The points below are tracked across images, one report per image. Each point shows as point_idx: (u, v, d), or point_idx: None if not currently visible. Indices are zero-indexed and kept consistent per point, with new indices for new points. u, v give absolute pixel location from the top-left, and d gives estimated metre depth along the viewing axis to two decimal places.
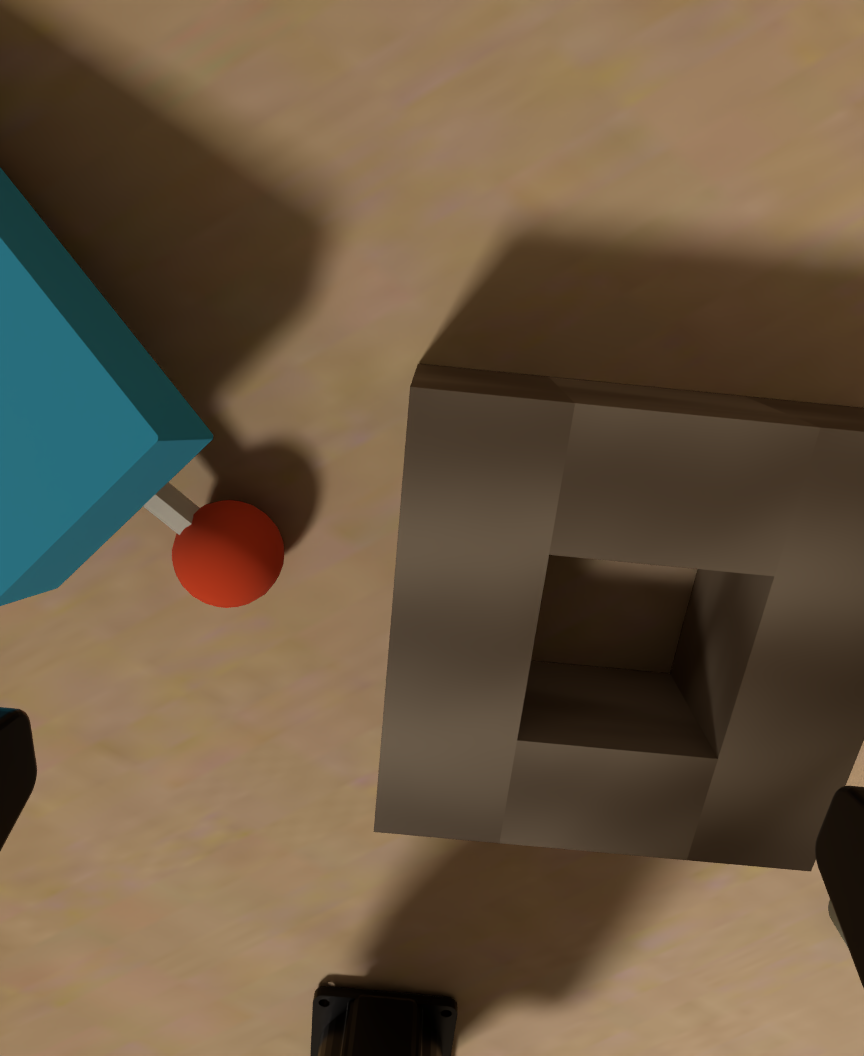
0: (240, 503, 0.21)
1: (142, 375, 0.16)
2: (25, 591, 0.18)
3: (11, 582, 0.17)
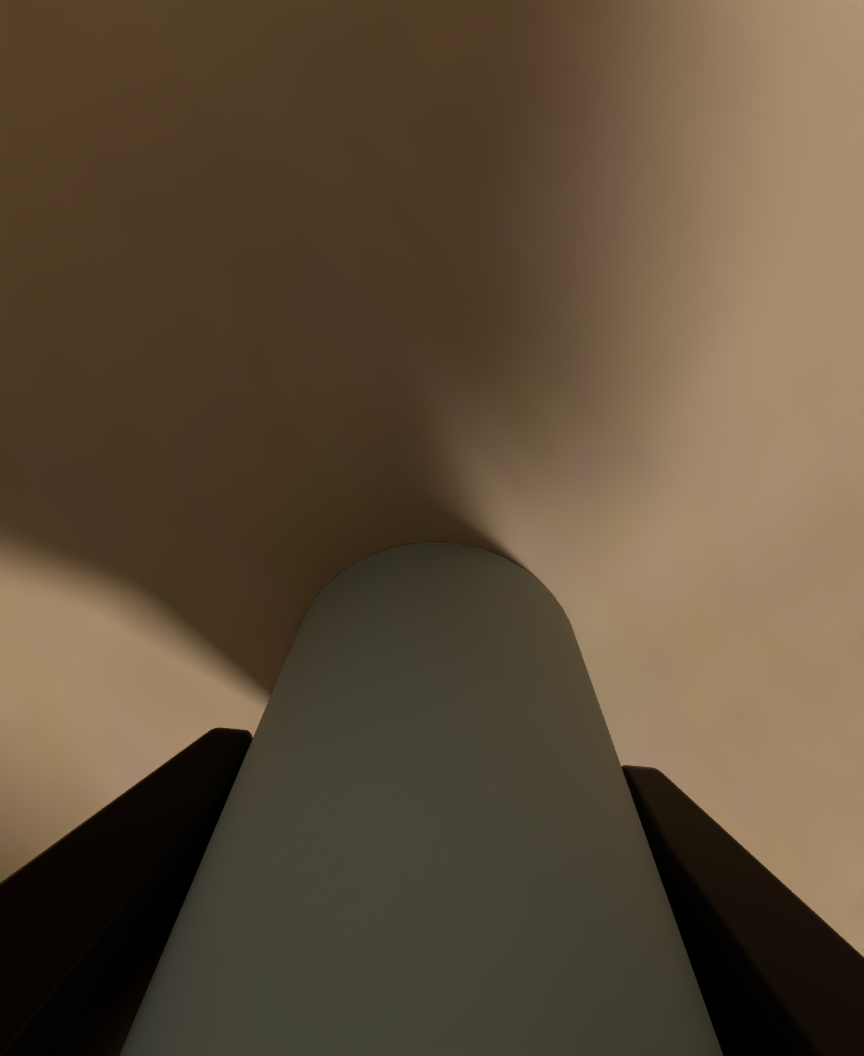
0: None
1: None
2: None
3: None
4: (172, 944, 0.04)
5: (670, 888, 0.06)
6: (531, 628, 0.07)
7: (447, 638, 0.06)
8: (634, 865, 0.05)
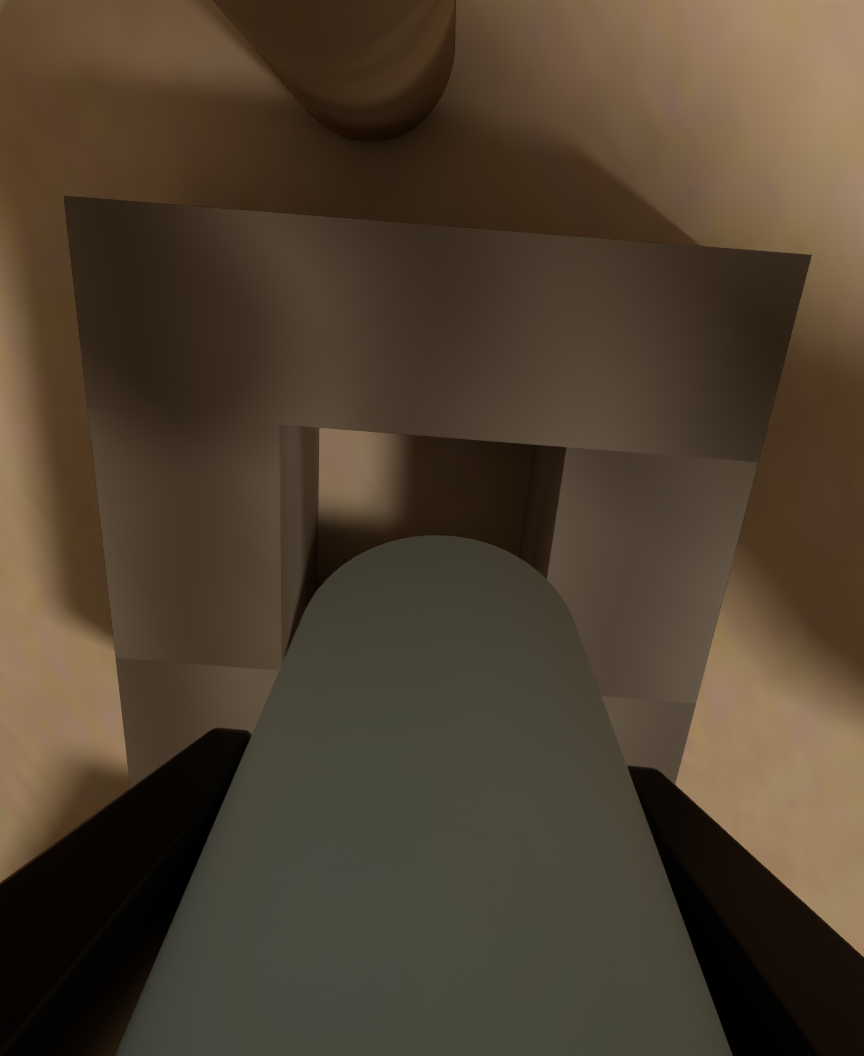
0: None
1: None
2: None
3: None
4: (173, 934, 0.04)
5: None
6: (533, 620, 0.07)
7: (448, 629, 0.06)
8: (639, 855, 0.05)
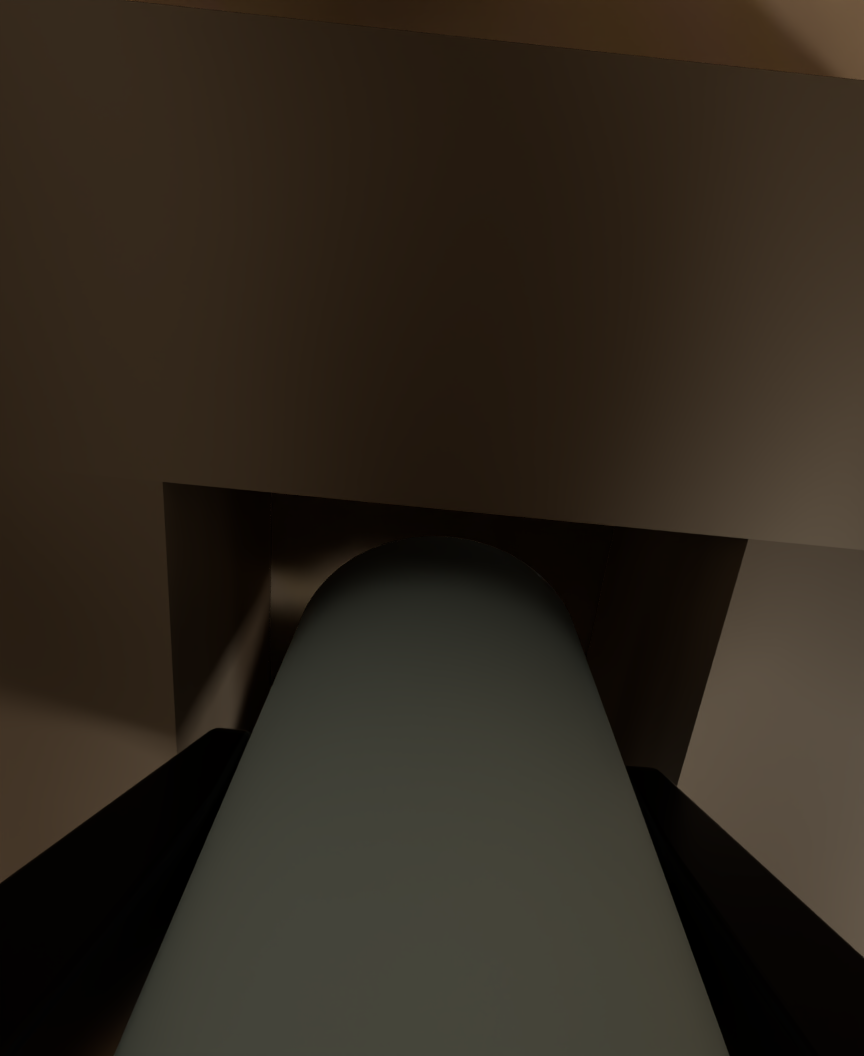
0: None
1: None
2: None
3: None
4: (171, 935, 0.04)
5: (670, 888, 0.06)
6: (532, 621, 0.07)
7: (447, 630, 0.06)
8: (636, 855, 0.05)
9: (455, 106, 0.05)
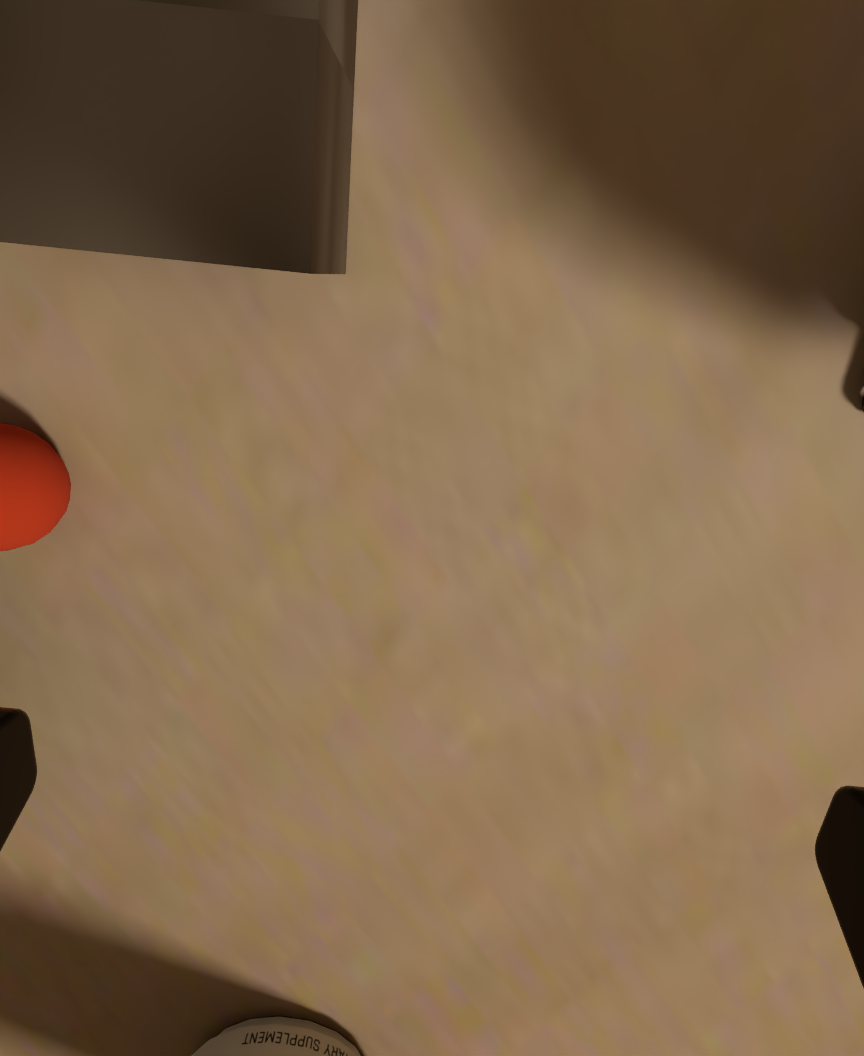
0: None
1: None
2: None
3: None
4: None
5: None
6: None
7: None
8: None
9: None
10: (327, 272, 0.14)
